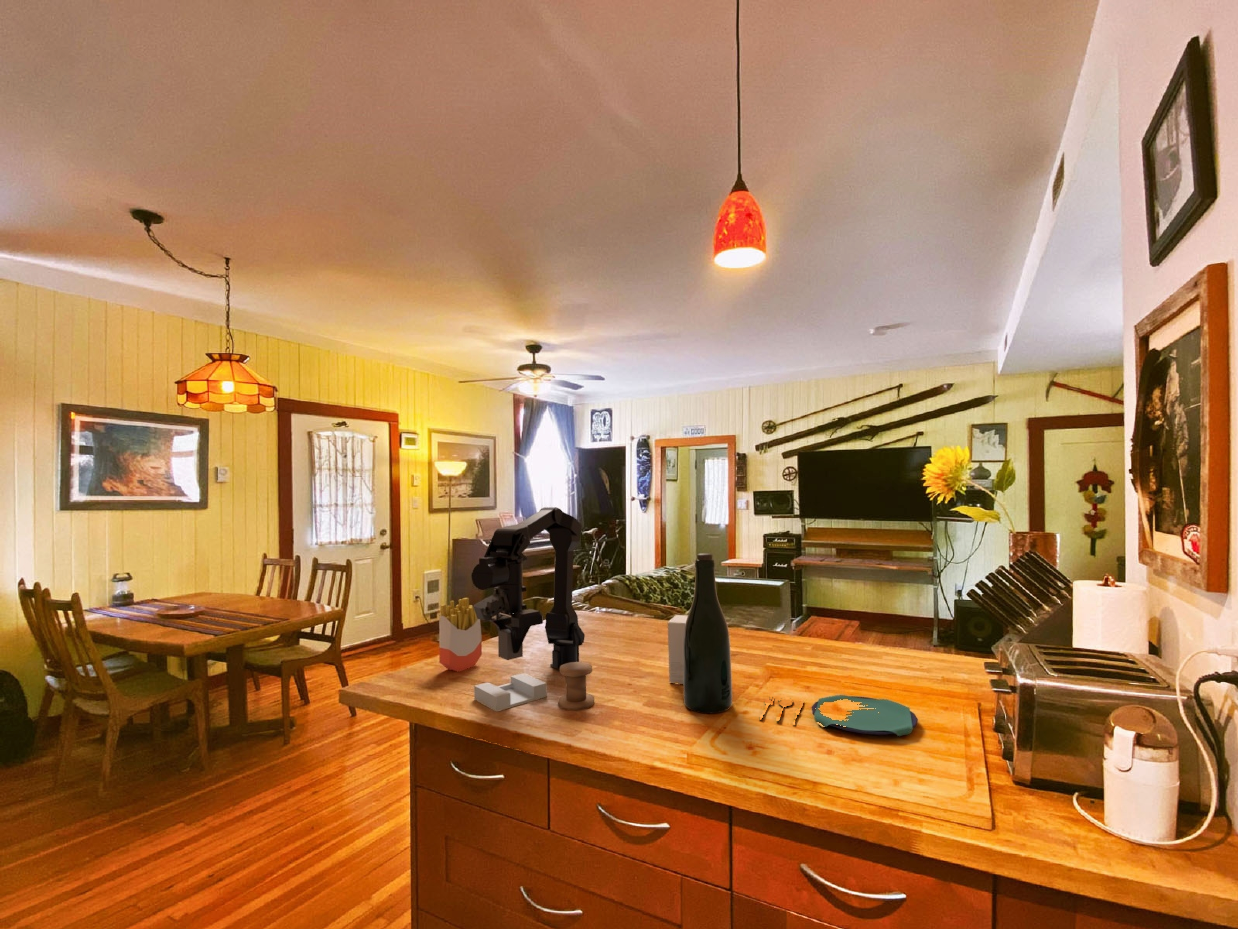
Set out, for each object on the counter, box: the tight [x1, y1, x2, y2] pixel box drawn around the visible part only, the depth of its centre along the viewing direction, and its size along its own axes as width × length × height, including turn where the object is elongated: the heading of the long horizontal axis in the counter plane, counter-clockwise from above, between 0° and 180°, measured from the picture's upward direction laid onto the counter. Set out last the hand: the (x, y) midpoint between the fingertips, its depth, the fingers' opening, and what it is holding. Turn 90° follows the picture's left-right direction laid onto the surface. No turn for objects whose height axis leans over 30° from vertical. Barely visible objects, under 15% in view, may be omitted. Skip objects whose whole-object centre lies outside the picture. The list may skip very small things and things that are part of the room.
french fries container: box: [438, 597, 483, 673], centre depth 156 cm, size 5×11×18 cm, turn 145°
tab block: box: [497, 628, 524, 661], centre depth 133 cm, size 4×4×6 cm
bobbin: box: [557, 661, 595, 711], centre depth 129 cm, size 8×8×8 cm
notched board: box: [473, 672, 548, 713], centre depth 133 cm, size 13×10×3 cm
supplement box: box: [667, 614, 688, 685], centre depth 144 cm, size 9×9×15 cm
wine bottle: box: [683, 552, 733, 714], centre depth 127 cm, size 10×10×33 cm
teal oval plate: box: [811, 694, 919, 737], centre depth 119 cm, size 20×30×2 cm, turn 66°
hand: (510, 651), depth 133 cm, fingers closed on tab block, 4 cm apart
